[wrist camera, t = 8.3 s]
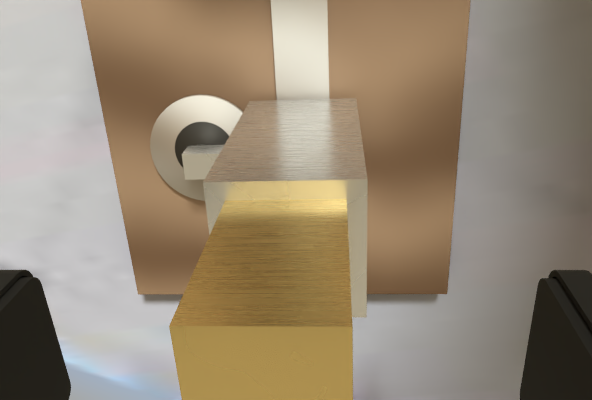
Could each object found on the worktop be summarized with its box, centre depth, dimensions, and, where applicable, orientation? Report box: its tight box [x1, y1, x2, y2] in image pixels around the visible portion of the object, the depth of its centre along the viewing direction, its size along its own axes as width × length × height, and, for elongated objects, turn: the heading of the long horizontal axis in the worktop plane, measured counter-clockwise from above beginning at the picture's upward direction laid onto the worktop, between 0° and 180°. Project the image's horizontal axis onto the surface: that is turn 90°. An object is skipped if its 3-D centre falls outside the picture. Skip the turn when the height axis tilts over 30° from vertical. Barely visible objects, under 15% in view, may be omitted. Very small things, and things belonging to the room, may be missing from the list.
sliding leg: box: [169, 98, 368, 400], centre depth 16 cm, size 4×6×13 cm, turn 93°
